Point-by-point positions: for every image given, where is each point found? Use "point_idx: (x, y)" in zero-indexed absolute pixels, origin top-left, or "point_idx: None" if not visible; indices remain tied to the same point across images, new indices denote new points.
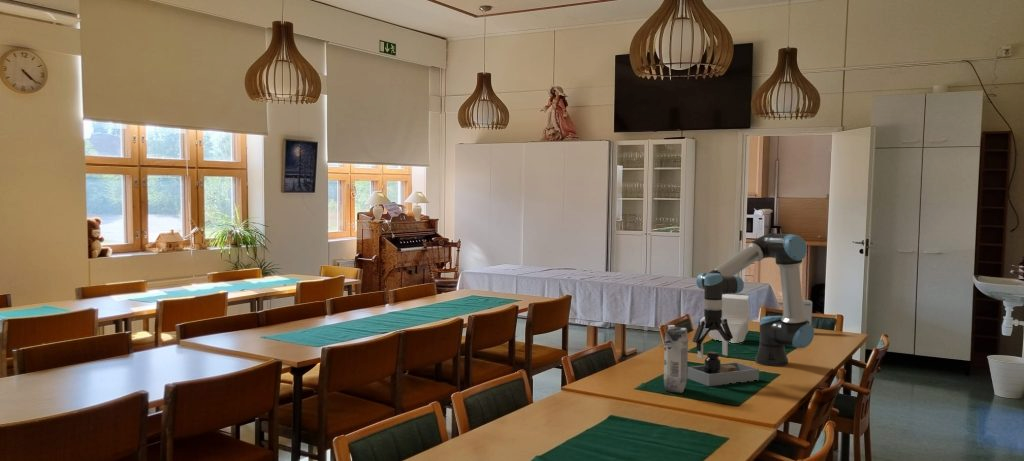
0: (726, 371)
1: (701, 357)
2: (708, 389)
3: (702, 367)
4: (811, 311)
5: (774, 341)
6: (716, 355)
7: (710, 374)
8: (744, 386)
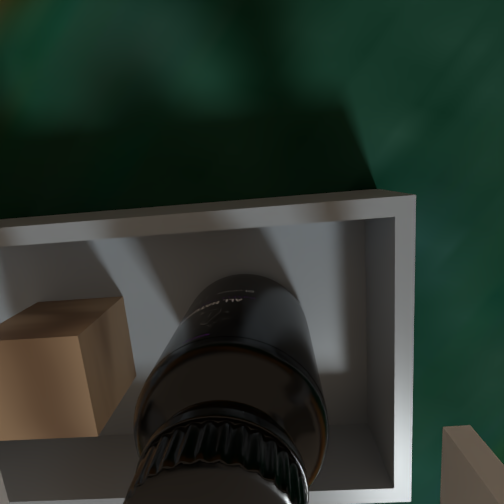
0: (98, 338)
1: (483, 444)
2: (448, 101)
3: None
4: None
5: None
6: (205, 431)
7: (398, 197)
8: (95, 97)
